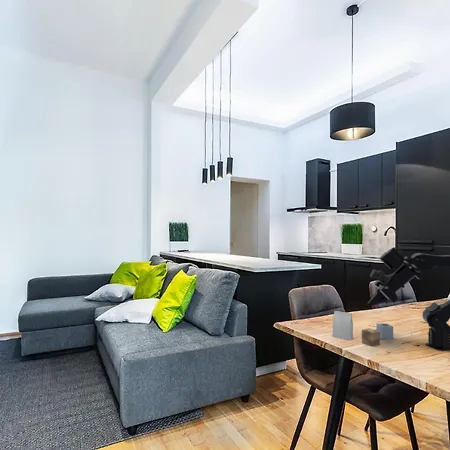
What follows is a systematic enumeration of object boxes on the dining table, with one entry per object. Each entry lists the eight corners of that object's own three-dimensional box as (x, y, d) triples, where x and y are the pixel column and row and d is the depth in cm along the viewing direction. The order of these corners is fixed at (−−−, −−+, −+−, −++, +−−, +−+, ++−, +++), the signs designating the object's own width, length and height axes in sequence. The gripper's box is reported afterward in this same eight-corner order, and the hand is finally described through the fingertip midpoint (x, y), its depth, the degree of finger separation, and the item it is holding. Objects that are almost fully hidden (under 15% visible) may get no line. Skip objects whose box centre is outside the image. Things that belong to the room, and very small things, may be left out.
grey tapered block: (349, 340, 127) (349, 314, 127) (332, 336, 131) (332, 311, 131) (352, 338, 130) (353, 312, 130) (336, 334, 134) (336, 310, 134)
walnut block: (379, 344, 122) (379, 330, 122) (372, 346, 120) (372, 332, 120) (368, 341, 126) (368, 327, 126) (361, 343, 123) (361, 329, 124)
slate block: (393, 339, 129) (393, 326, 129) (382, 339, 129) (382, 326, 129) (387, 335, 133) (387, 323, 134) (376, 335, 133) (376, 323, 133)
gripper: (379, 261, 136) (351, 286, 139) (387, 264, 118) (355, 293, 121) (400, 281, 133) (371, 306, 136) (412, 288, 115) (378, 316, 118)
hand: (368, 304), depth 128 cm, fingers closed
